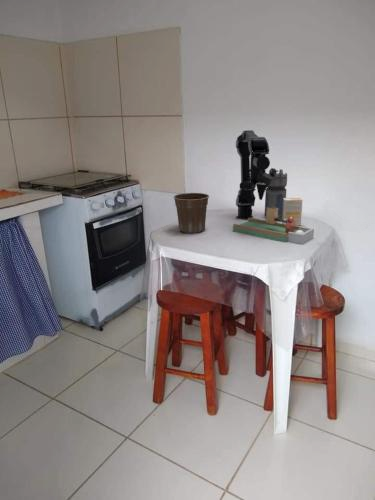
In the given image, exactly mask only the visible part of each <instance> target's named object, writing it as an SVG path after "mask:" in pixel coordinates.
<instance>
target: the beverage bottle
mask: <svg viewBox="0 0 375 500" xmlns="http://www.w3.org/2000/svg"><path fill="white" fill-rule="evenodd" d="M278 172H279V173H278ZM271 173H275V174H276V181H274V183H273V185H270V186H268V187H267V188H266V190H265V193H264V196H265V198H264V217H265V218H266V212H267V207H269V206H272V207H278V218H282V216H283V198H287V189H286V187H287V183H288V173H287V172H285V173H284V171H283V169H279V170H277V169H276V168H272V167H271V168H270V169H269V172H268V174H271Z"/></svg>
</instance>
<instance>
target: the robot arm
mask: <svg viewBox="0 0 375 500" xmlns="http://www.w3.org/2000/svg"><path fill="white" fill-rule="evenodd" d="M235 148H236V151H237V152H236V153H237V154H238V155H239V158H240V183H239V190H238V192H237V195H236V199H235V206H236V207H237V215H236V218H237V219H242V220H248V218H254V216H253V209H252V207H255V202H256V196H255V194H254V192H255V191H256V189H257V194H258V199H259V200H260V201H262V200H263V198H264V196H265V194H266V188H268V186H270V185H273V183H274V181H276V174H275V173H271V174H269V173H267V172H266V171H267V170H268V168H269V167H270V164H271V161H270V159H269V158H268V157H267V156H266V155H269V154H270V147H269V143H268V140H267V139H266V137H265V136H259V135H257V134H256V133H255V131H254V130H250V129H249V130H243V131H242V132H241V134H240V135H238V136H237V138H236V141H235Z"/></svg>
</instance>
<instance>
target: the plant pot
mask: <svg viewBox="0 0 375 500" xmlns="http://www.w3.org/2000/svg"><path fill="white" fill-rule="evenodd" d="M209 198H210V195H209V194H208V193H202V192H186V193H178V194H175V195H173V199H174V204H175V205H174V206H176V213H177V215H176V216H177V220H178V221H177V222H178V230H179V232H183V233H187V234H197V233H200V232H201V233H202V232H204V231H205V230H206V218H207V208H208V204H209V202H208V201H209Z"/></svg>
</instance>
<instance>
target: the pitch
mask: <svg viewBox="0 0 375 500" xmlns="http://www.w3.org/2000/svg"><path fill="white" fill-rule="evenodd" d="M285 229H286V224H283V223H282V222H279V221H277V223H276V224H269V223H266V219H265V220H264V219H260V218H259V219H258V218H255V217H251V218H248V219H247V221H245V222H242V223H240V224H238V223H233V225H232V232H234V233H239V234H243V235H244V234H245V235H248V236H252V237H253V236H254V237H259V238H262V239H269V240H273V241H279V242H283V243H287V242H289V243H294V244H298V245H299V244H300V245H303V244H305V243H307V242H308V241H309V242H310V241H311V240H312V239H313V238H314V233H315V228H311V227H308V226H307V227H306V226H295V231H293V232H288V233H285ZM298 230H302V231H303V232H304V233H303V234H299V233H295V232H296V231H298Z"/></svg>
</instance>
